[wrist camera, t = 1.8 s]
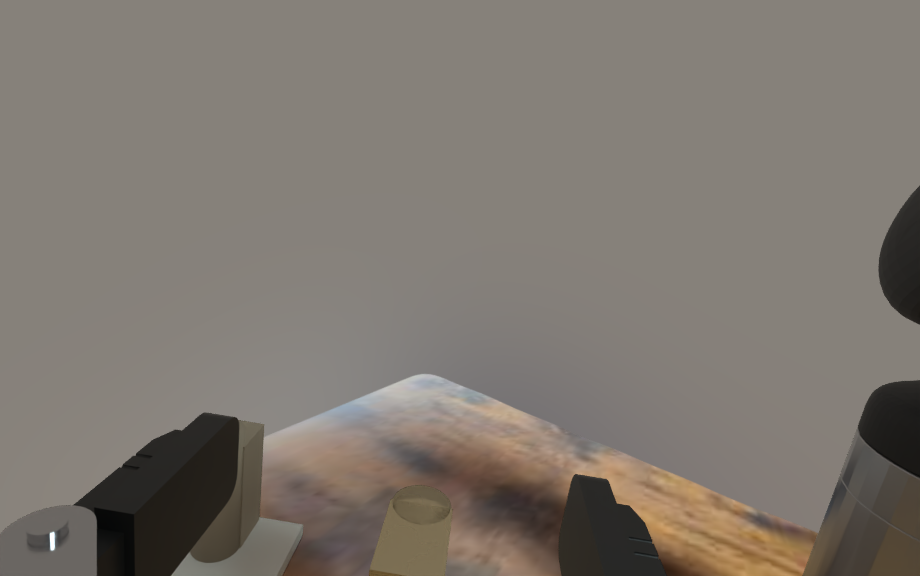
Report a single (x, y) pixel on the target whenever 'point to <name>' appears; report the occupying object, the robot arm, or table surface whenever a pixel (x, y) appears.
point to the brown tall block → (414, 534)
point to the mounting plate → (254, 553)
